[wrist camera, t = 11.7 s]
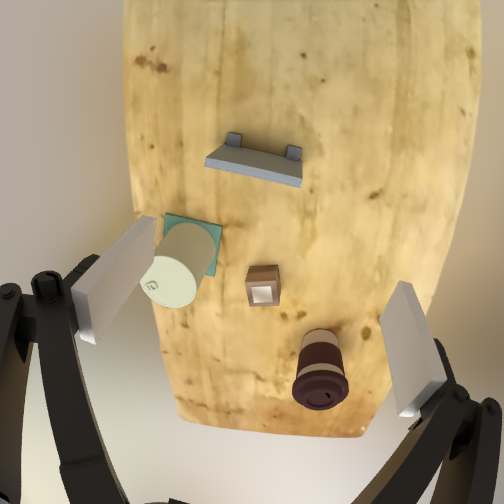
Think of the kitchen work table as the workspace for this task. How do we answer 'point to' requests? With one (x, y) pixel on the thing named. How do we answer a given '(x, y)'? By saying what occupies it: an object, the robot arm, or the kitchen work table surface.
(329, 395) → the coffee cup
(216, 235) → the mat
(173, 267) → the can
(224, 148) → the screen
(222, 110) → the kitchen work table surface
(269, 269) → the letter cube
